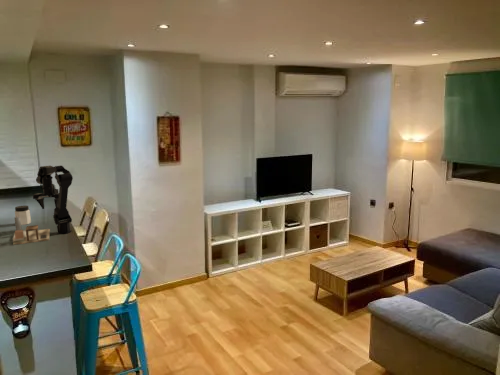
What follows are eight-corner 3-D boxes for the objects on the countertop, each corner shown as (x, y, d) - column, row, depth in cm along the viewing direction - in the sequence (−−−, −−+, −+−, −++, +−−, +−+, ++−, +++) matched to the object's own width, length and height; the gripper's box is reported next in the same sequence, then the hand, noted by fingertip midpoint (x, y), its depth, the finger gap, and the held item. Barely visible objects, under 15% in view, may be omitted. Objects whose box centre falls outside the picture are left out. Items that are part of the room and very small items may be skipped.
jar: (14, 224, 286) (12, 207, 284) (25, 221, 293) (23, 205, 291) (21, 225, 282) (19, 208, 280) (33, 222, 289) (31, 206, 287)
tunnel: (39, 235, 252) (37, 225, 251) (38, 239, 244) (37, 228, 243) (28, 237, 249) (26, 226, 248) (27, 240, 242) (25, 229, 241)
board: (49, 230, 268) (49, 228, 268) (49, 240, 246) (48, 238, 246) (17, 234, 261) (17, 232, 261) (13, 244, 238) (13, 243, 238)
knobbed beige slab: (26, 231, 261) (24, 215, 260) (24, 239, 243) (22, 222, 242) (15, 232, 259) (13, 216, 257) (12, 241, 241) (10, 224, 239)
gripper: (68, 183, 275) (70, 206, 278) (41, 183, 277) (43, 206, 280) (58, 186, 264) (61, 210, 267) (31, 186, 266) (33, 210, 269)
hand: (50, 208), depth 271 cm, fingers open, 9 cm apart
